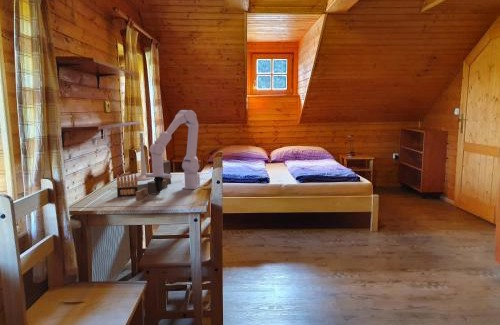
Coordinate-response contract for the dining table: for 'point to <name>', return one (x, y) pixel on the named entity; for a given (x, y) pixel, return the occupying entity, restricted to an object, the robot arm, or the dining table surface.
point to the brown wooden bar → (144, 192)
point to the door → (142, 186)
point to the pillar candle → (166, 170)
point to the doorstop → (152, 187)
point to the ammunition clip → (127, 186)
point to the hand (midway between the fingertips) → (159, 190)
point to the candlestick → (142, 162)
